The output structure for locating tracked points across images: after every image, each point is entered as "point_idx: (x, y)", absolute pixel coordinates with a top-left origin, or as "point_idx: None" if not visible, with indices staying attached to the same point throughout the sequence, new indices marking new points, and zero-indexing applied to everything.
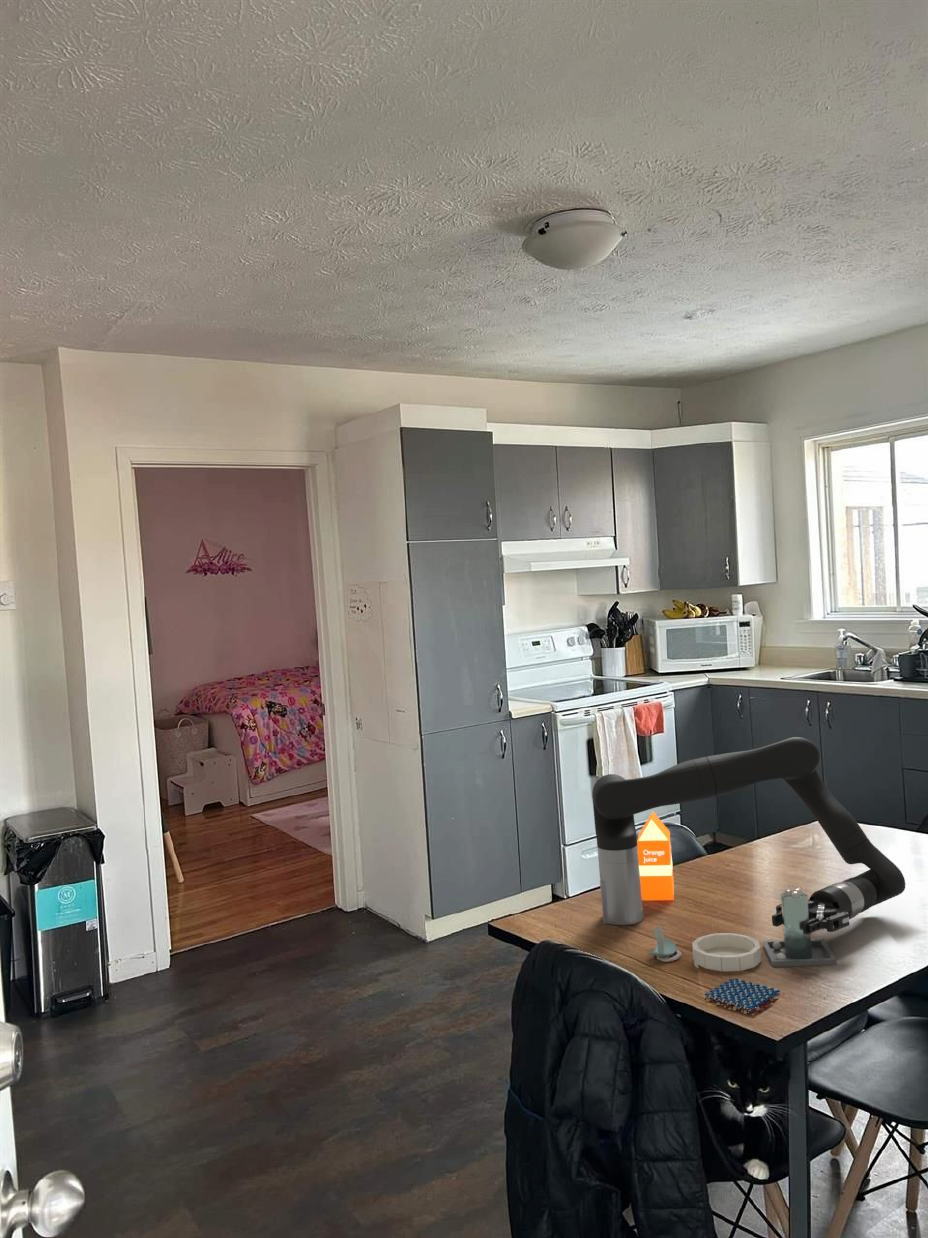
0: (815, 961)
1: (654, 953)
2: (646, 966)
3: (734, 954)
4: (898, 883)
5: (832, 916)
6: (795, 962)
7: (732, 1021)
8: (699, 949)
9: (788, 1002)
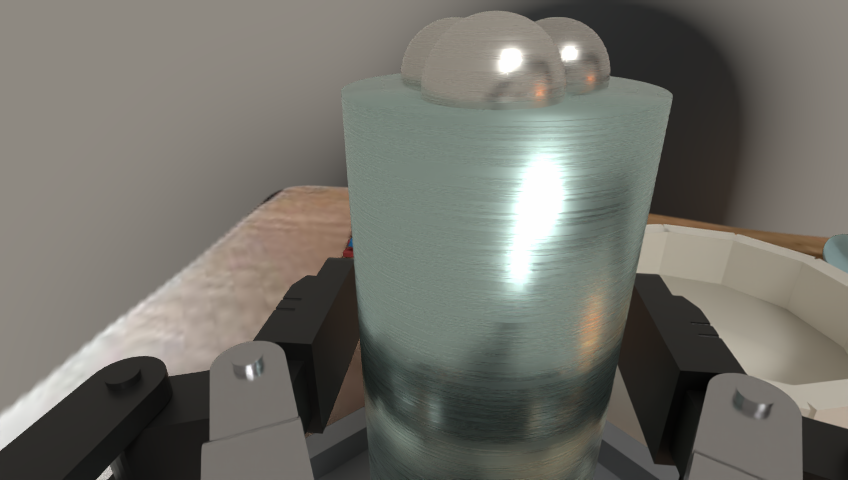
0: None
1: (838, 240)
2: (800, 249)
3: None
4: None
5: (66, 455)
6: None
7: None
8: (719, 236)
9: (319, 256)
